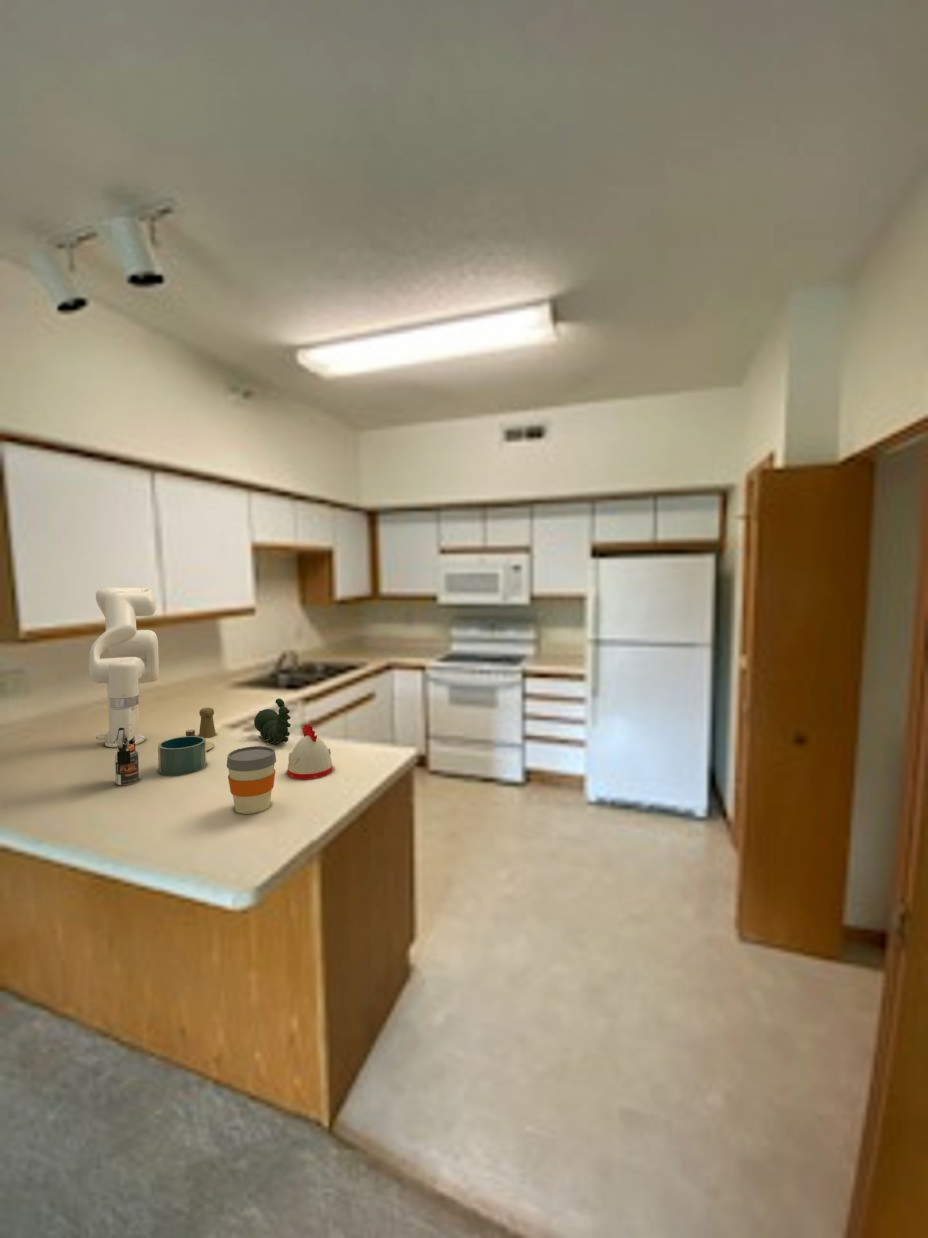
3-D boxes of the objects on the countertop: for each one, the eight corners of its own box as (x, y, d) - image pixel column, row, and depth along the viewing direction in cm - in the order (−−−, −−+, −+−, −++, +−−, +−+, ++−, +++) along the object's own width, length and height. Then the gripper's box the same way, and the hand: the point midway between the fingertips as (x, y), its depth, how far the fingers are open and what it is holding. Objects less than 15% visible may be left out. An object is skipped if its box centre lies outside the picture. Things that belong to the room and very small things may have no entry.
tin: (155, 777, 164) (154, 751, 163) (163, 763, 177) (162, 738, 176) (203, 772, 169) (203, 746, 168) (207, 758, 181) (207, 734, 181)
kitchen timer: (319, 760, 180) (318, 718, 179) (340, 771, 171) (340, 726, 170) (280, 770, 171) (279, 725, 170) (300, 782, 161) (299, 735, 160)
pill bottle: (119, 787, 156) (117, 750, 155) (113, 782, 160) (112, 745, 159) (142, 781, 160) (140, 745, 160) (135, 776, 164) (134, 741, 164)
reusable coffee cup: (227, 820, 136) (226, 763, 135) (228, 801, 147) (226, 749, 146) (278, 812, 141) (277, 757, 140) (275, 794, 152) (274, 743, 151)
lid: (164, 758, 181) (163, 738, 180) (171, 745, 194) (170, 727, 194) (211, 754, 186) (210, 734, 186) (214, 741, 200) (214, 723, 199)
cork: (208, 738, 204) (208, 710, 203) (195, 737, 205) (194, 709, 204) (219, 733, 210) (218, 706, 209) (205, 732, 211) (205, 705, 210)
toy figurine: (296, 749, 197) (271, 728, 215) (298, 701, 194) (271, 684, 213) (271, 755, 191) (247, 733, 209) (272, 704, 188) (248, 687, 206)
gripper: (117, 696, 165) (119, 752, 166) (101, 709, 149) (104, 771, 150) (144, 695, 168) (146, 750, 169) (132, 707, 152) (134, 768, 153)
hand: (126, 759), depth 160 cm, fingers closed on pill bottle, 6 cm apart
